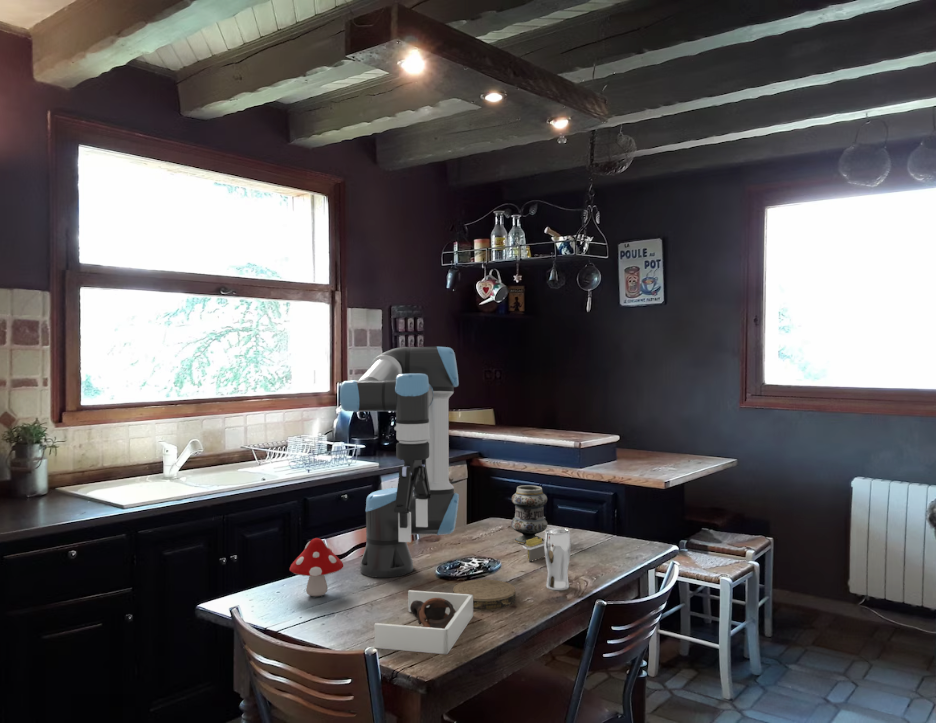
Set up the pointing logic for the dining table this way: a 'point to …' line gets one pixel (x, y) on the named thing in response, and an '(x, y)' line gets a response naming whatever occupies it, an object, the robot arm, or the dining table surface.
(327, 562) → the decorative mushroom
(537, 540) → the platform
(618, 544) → the dining table surface
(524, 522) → the apothecary jar
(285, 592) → the dining table surface
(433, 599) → the pottery mug
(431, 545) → the dining table surface
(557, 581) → the beer glass
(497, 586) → the wood slice
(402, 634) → the bin
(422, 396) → the robot arm
